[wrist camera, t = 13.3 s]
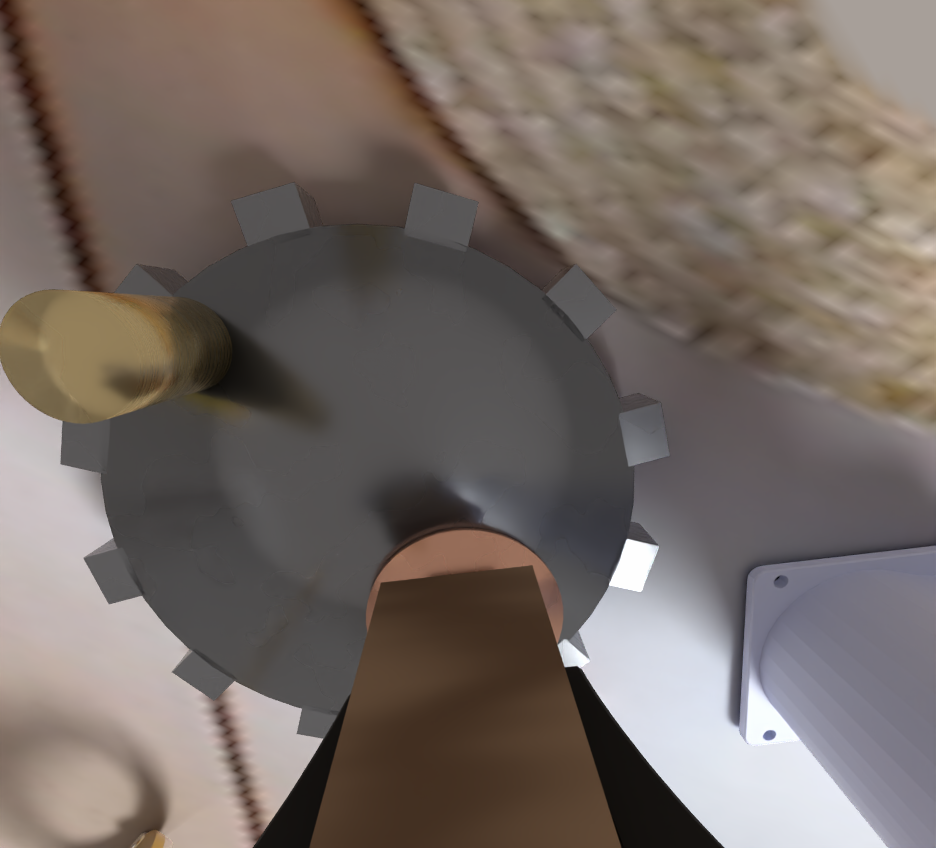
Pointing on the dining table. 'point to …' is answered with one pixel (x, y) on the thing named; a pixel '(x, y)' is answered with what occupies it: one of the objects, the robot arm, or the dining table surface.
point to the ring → (152, 840)
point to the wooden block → (463, 726)
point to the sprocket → (338, 437)
